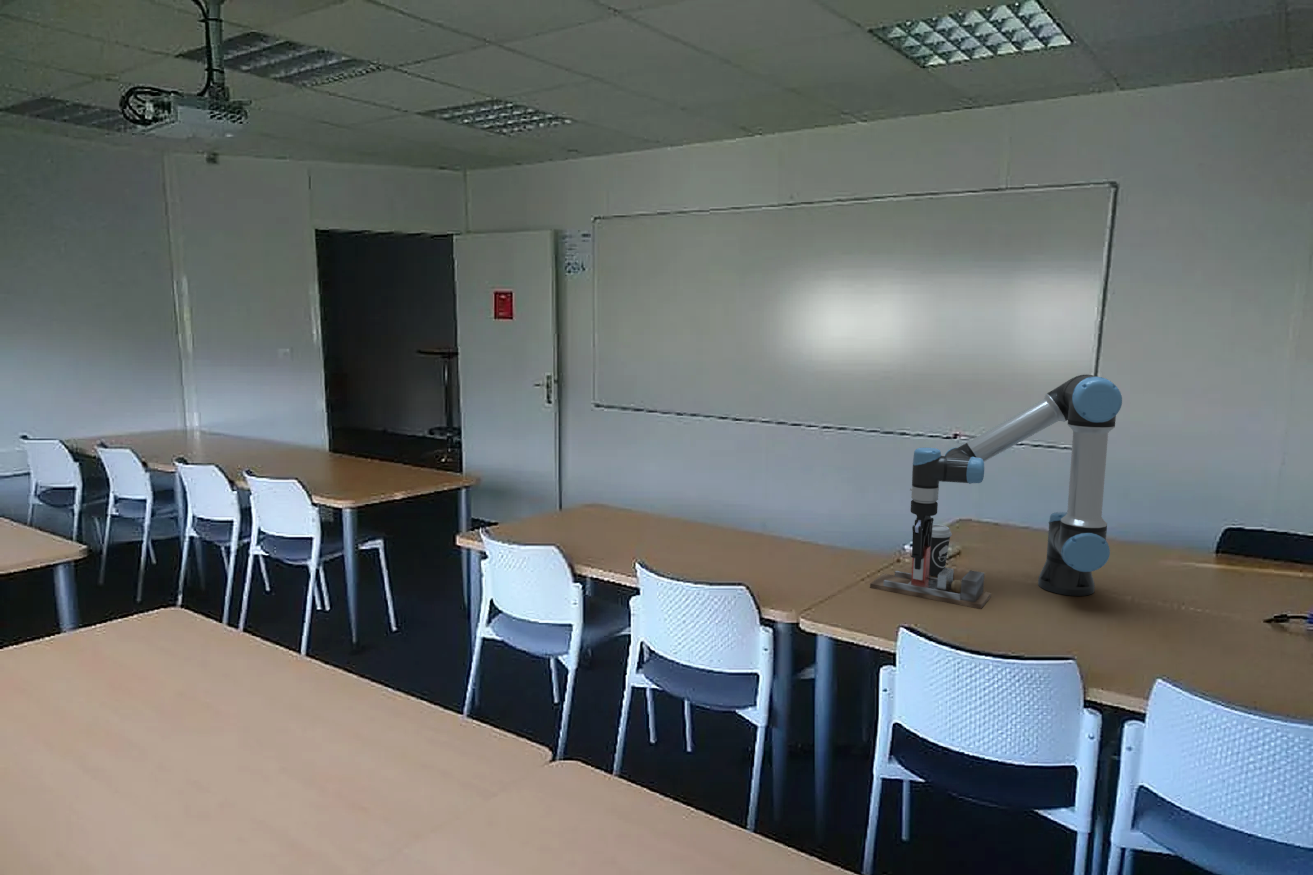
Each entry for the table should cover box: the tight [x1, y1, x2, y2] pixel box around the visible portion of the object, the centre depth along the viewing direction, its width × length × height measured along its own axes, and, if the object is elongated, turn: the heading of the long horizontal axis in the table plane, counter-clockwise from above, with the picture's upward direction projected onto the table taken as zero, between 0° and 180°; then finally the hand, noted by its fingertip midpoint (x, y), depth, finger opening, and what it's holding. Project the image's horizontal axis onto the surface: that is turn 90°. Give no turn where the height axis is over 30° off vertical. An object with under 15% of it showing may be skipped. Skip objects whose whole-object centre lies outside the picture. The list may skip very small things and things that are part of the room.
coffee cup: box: [929, 523, 953, 577], centre depth 258 cm, size 10×10×15 cm
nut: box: [951, 579, 962, 594], centre depth 236 cm, size 4×4×4 cm
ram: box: [908, 545, 954, 592], centre depth 240 cm, size 11×8×12 cm
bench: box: [869, 570, 992, 610], centre depth 240 cm, size 32×12×7 cm, turn 56°
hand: (920, 576), depth 242 cm, fingers closed on ram, 4 cm apart
